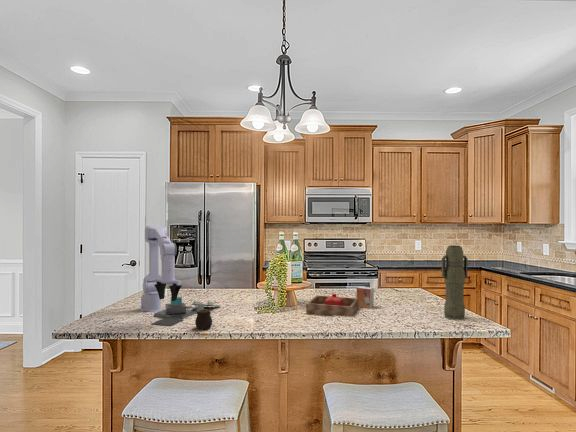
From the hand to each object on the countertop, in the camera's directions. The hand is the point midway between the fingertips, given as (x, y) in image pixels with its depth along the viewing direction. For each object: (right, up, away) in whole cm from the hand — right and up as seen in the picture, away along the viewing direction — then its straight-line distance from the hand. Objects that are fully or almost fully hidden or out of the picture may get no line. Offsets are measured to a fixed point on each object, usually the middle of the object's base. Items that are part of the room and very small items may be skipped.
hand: (167, 299), depth 173 cm
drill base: (-1, -11, +14) cm, 17 cm away
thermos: (+133, -11, +7) cm, 134 cm away
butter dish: (+79, -11, +27) cm, 84 cm away
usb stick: (0, -9, +14) cm, 16 cm away
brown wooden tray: (+78, -11, +24) cm, 82 cm away
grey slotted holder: (+3, -9, +15) cm, 18 cm away
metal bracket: (+18, -10, +25) cm, 32 cm away
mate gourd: (+19, -11, -9) cm, 23 cm away
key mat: (0, -10, 0) cm, 10 cm away
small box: (+96, -11, +33) cm, 102 cm away
